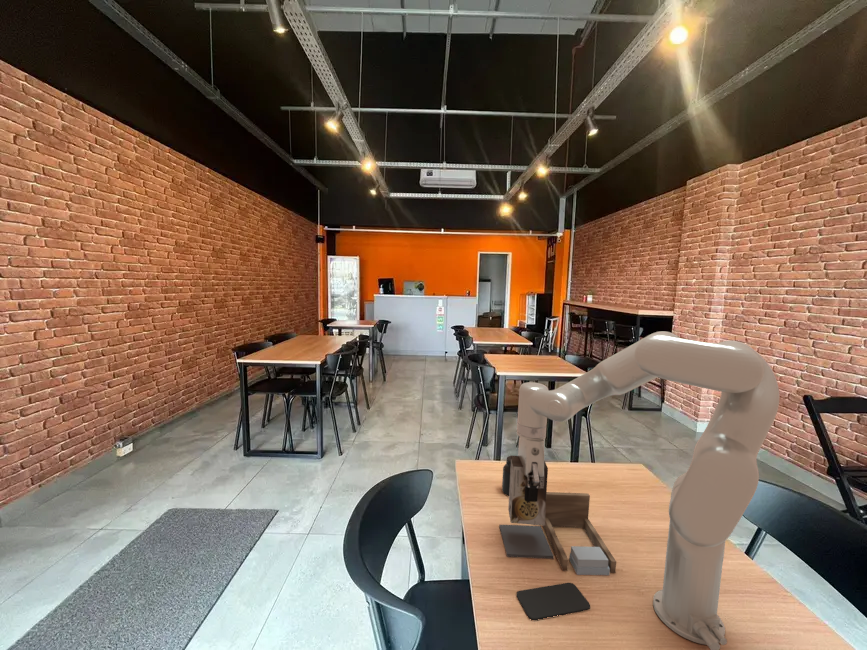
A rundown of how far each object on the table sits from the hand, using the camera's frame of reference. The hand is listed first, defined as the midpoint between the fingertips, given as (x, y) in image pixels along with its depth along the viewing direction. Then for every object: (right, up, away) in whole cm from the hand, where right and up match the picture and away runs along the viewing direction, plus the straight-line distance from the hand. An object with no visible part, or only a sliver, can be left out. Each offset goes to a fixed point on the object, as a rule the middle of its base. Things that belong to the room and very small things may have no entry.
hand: (527, 492), depth 99 cm
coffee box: (0, -7, +1) cm, 7 cm away
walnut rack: (+13, -15, 0) cm, 20 cm away
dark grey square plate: (0, -14, +1) cm, 14 cm away
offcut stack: (+14, -16, -7) cm, 22 cm away
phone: (+1, -17, -18) cm, 24 cm away
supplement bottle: (+1, -12, +26) cm, 29 cm away
